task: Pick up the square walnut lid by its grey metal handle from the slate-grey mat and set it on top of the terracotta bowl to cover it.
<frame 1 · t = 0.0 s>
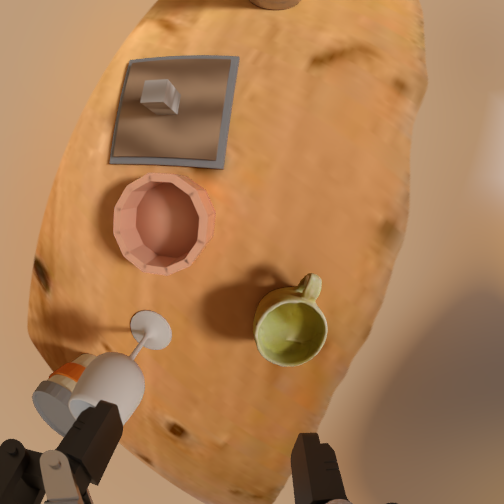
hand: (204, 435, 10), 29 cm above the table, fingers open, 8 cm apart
mug: (290, 301, 40), on the table
wineglass: (151, 329, 41), on the table
lid: (170, 106, 33), point 1 cm above the table, touching mat
reusable coffee cup: (96, 371, 44), on the table
mat: (172, 107, 34), on the table
bowl: (171, 219, 37), on the table
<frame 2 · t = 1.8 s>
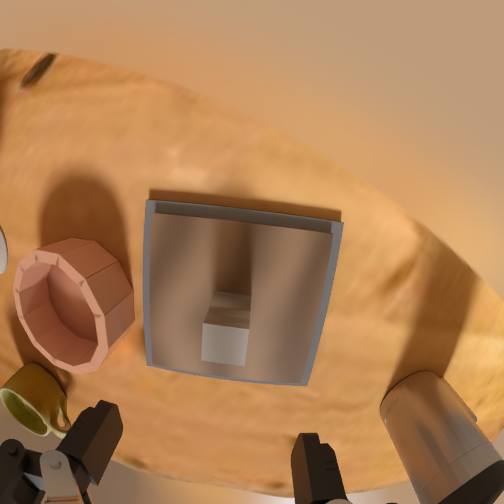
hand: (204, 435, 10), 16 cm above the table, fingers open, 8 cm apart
mug: (55, 389, 29), on the table
lid: (232, 305, 24), point 1 cm above the table, touching mat
mat: (233, 302, 25), on the table
bowl: (85, 295, 25), on the table
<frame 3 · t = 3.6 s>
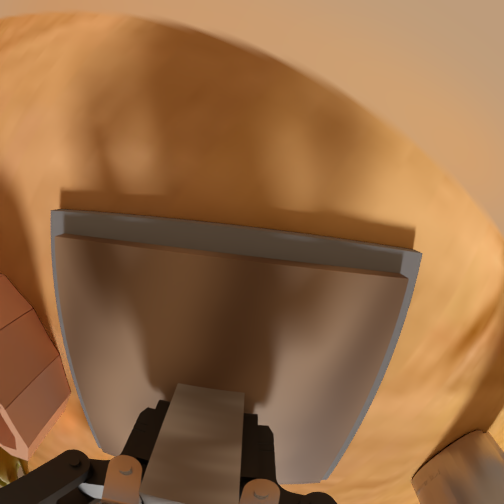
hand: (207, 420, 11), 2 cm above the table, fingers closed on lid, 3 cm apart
mug: (14, 436, 17), on the table
lid: (211, 399, 12), point 1 cm above the table, touching gripper, mat
mat: (213, 389, 13), on the table
bowl: (9, 348, 13), on the table
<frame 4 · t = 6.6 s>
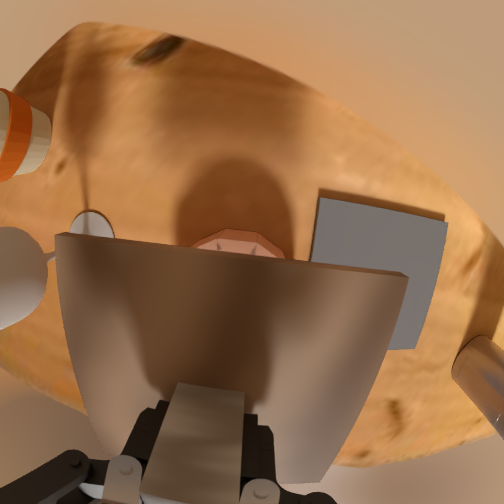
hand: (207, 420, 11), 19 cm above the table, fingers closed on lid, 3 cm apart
wineglass: (92, 241, 29), on the table
lid: (212, 399, 12), point 18 cm above the table, touching gripper
reusable coffee cup: (32, 142, 26), on the table
mat: (376, 283, 29), on the table
bowl: (235, 286, 30), on the table
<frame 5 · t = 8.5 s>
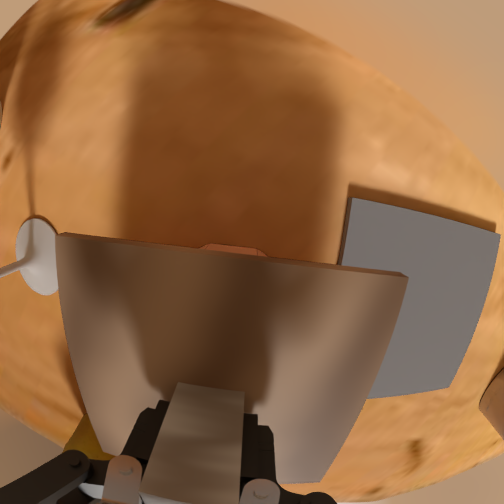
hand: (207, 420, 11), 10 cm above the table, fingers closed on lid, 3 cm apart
mug: (132, 437, 24), on the table
wineglass: (40, 256, 19), on the table
lid: (212, 398, 12), point 8 cm above the table, touching gripper
mat: (416, 315, 20), on the table
bowl: (225, 325, 20), on the table
when the fingers open (9 cm above the table, at t = 9.8 s): lid drops 1 cm, resting on bowl.
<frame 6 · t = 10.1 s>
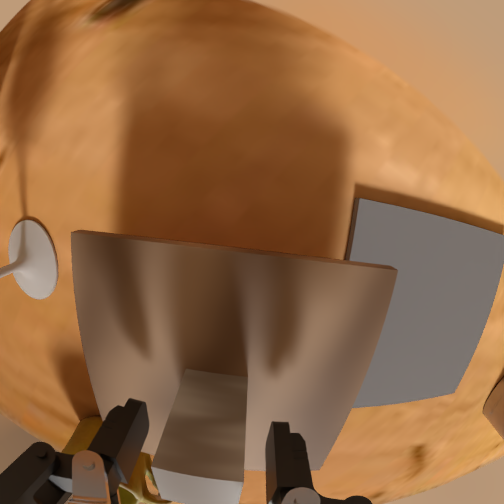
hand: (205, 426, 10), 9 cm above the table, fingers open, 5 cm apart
mug: (130, 443, 23), on the table
wineglass: (32, 259, 18), on the table
lid: (217, 385, 13), point 6 cm above the table, touching bowl
mat: (423, 320, 19), on the table
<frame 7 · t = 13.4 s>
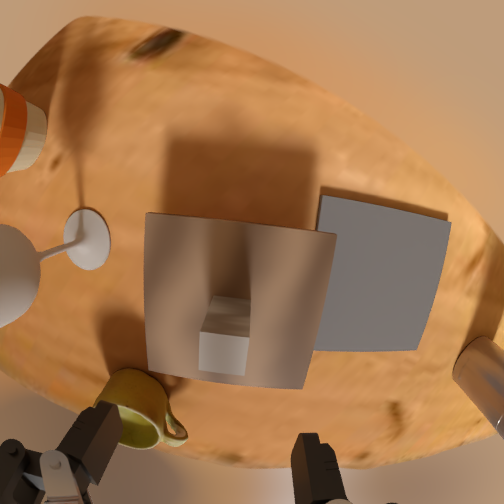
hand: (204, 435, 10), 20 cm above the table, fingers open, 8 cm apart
mug: (152, 394, 33), on the table
wineglass: (87, 239, 28), on the table
lid: (231, 310, 23), point 6 cm above the table, touching bowl
reusable coffee cup: (27, 138, 25), on the table
mat: (379, 283, 28), on the table
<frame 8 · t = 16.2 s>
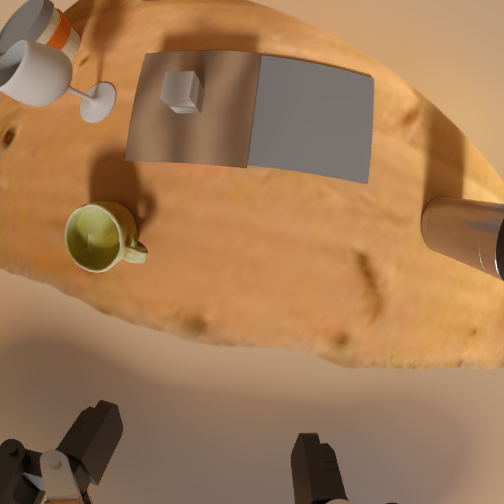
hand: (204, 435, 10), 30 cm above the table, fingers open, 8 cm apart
mug: (124, 233, 39), on the table
wineglass: (98, 102, 34), on the table
lid: (191, 103, 29), point 6 cm above the table, touching bowl
reusable coffee cup: (63, 52, 31), on the table
mat: (315, 116, 34), on the table
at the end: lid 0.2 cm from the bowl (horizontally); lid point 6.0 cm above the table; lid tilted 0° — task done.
